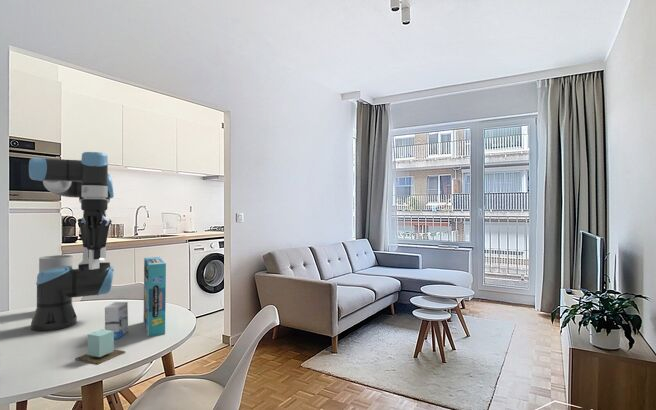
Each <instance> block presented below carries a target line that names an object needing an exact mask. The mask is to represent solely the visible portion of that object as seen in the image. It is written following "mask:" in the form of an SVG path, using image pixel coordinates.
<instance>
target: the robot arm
mask: <svg viewBox="0 0 656 410" xmlns="http://www.w3.org/2000/svg"><path fill="white" fill-rule="evenodd" d="M108 167H109V160H108V155H107V154H106V153H103V152H96V151H84V152H82V153H81V159H80V160H79V159H64V158H63V159H61V158H50V157H49V158H46V157H32V158H30V159H29V162H28V176H29V179H31V180H33V181H39V182H42V184H43V186H44V188H45V189H46V190H47V191H49V192H50V193H52V194H55V195H57V196H61V197H64V198H65V197H67V198H78V199H79V200H78V202H79V203H80V209H81V210H82V213H83V214H82V218H78V219H77V223H78V225H79V229H80V235H81V236H80V237H81V243H82V260H81V262H79V263H78V267H77V268H74V269H72V266H61V267H55V268H50V269H46V270H43V271H41V272H39V271H38V274H37V276H36V282H35V284H36V309H35V312H34V314H33V317H32V319H31V323H30V329H31V330H32V331H37V332H42V331H43V332H44V331H45V332H49V331H54V330H60V329H64V328H68V327H72V326H74V325H75V324H76V323H77V321H78V320H77V319H78V317H77V314H76V312H75V309H74V305H73V298H81V297H89V296H90V297H92V296H99V295H106V294H109V293H110V292H111V289H112V286H113V278H114V273H115V272H114V270H115V267H114V266H113V265H111V262H110V261H109V260H108V259H107V241H108V235H109V229H110V226H111V224H112V220H111V219H108V218H107V210H108V204H109V203H110V202H111V199H113V198H114V187H113V181H112V180H113V179H112V176H111V174H110V172H109V173H108V169H109V168H108Z"/></svg>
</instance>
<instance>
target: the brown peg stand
mask: <svg viewBox="0 0 656 410" xmlns="http://www.w3.org/2000/svg"><path fill="white" fill-rule="evenodd" d="M125 353H127V352H126V351H125V350H121V349H114V351H113V352H111V353H108V354H106V355H103V356H101V357H96V356H91V355H88V353H86V354H83V355H81V356H77V357H74V360H75V361H80V362H85V363H90V364H94V365H101V364H102V363H104V362H106V361H109V360H111V359H114V358H116V357H119V356H121V355H124V354H125Z"/></svg>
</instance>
